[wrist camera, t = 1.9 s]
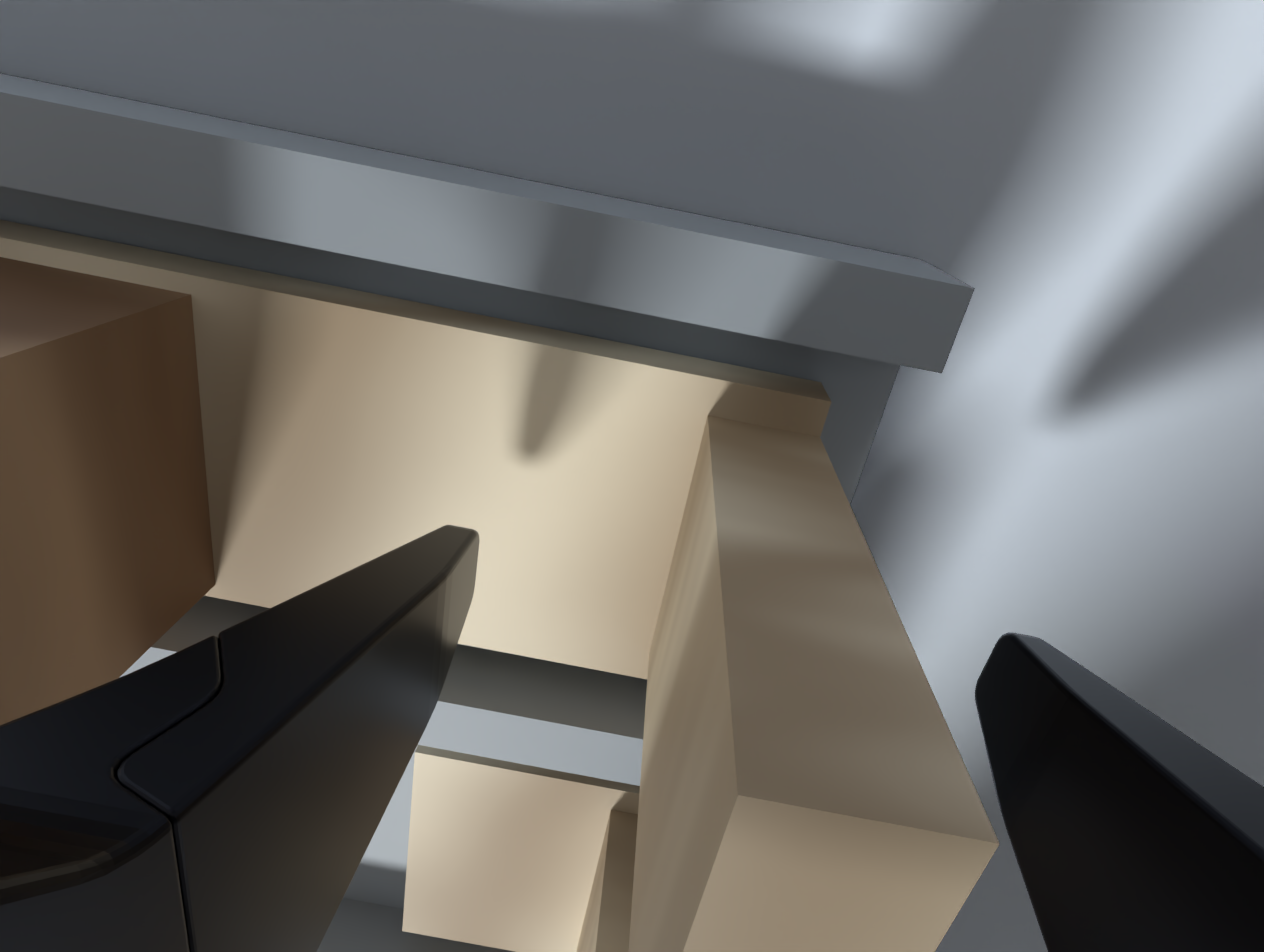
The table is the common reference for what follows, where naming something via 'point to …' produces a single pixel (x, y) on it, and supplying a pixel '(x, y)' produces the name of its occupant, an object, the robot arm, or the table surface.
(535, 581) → the tan piece
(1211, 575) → the table surface
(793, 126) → the table surface
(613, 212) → the lane board
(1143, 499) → the table surface
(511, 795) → the strip broken
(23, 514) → the cube
